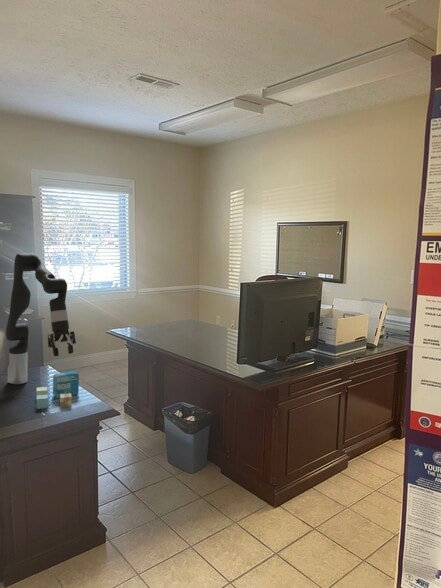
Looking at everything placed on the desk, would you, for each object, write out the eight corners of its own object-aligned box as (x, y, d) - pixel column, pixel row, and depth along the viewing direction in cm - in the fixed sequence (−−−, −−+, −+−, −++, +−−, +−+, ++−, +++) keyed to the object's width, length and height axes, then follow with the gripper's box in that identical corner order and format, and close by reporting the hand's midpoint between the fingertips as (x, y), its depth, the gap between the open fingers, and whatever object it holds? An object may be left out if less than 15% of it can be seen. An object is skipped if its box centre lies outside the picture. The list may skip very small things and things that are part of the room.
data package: (55, 398, 219) (55, 376, 218) (52, 396, 223) (52, 373, 221) (78, 394, 227) (78, 373, 225) (75, 392, 230) (76, 370, 229)
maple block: (60, 407, 210) (60, 397, 209) (60, 403, 214) (60, 394, 213) (71, 406, 211) (71, 396, 211) (70, 402, 216) (70, 393, 215)
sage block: (36, 400, 216) (36, 391, 216) (36, 396, 221) (36, 387, 220) (47, 399, 218) (47, 390, 217) (47, 396, 223) (47, 386, 222)
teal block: (36, 409, 206) (36, 399, 205) (36, 405, 211) (36, 395, 210) (47, 408, 208) (47, 398, 207) (47, 404, 212) (47, 394, 212)
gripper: (65, 320, 209) (69, 353, 208) (41, 322, 197) (45, 357, 196) (76, 318, 206) (81, 352, 205) (52, 320, 193) (57, 356, 192)
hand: (63, 354), depth 200 cm, fingers open, 8 cm apart
